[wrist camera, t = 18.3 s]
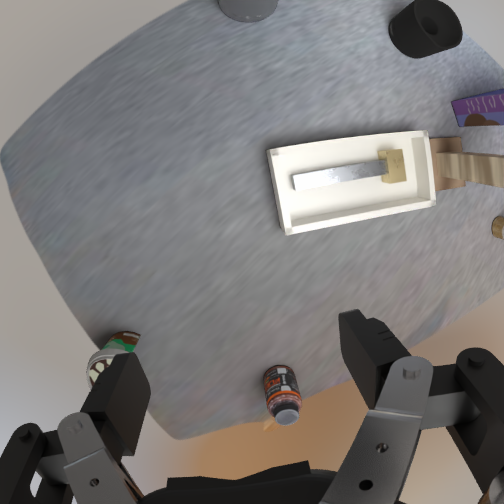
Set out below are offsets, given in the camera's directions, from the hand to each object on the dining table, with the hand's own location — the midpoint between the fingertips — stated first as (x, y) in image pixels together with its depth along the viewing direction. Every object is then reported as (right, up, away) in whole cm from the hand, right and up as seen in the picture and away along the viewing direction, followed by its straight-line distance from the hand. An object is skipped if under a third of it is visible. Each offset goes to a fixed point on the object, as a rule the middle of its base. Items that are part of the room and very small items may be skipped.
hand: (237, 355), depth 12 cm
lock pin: (+14, +16, +35) cm, 41 cm away
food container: (-24, -13, +42) cm, 50 cm away
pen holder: (+28, +41, +30) cm, 58 cm away
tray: (+16, +16, +36) cm, 43 cm away
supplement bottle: (+6, -19, +46) cm, 50 cm away
